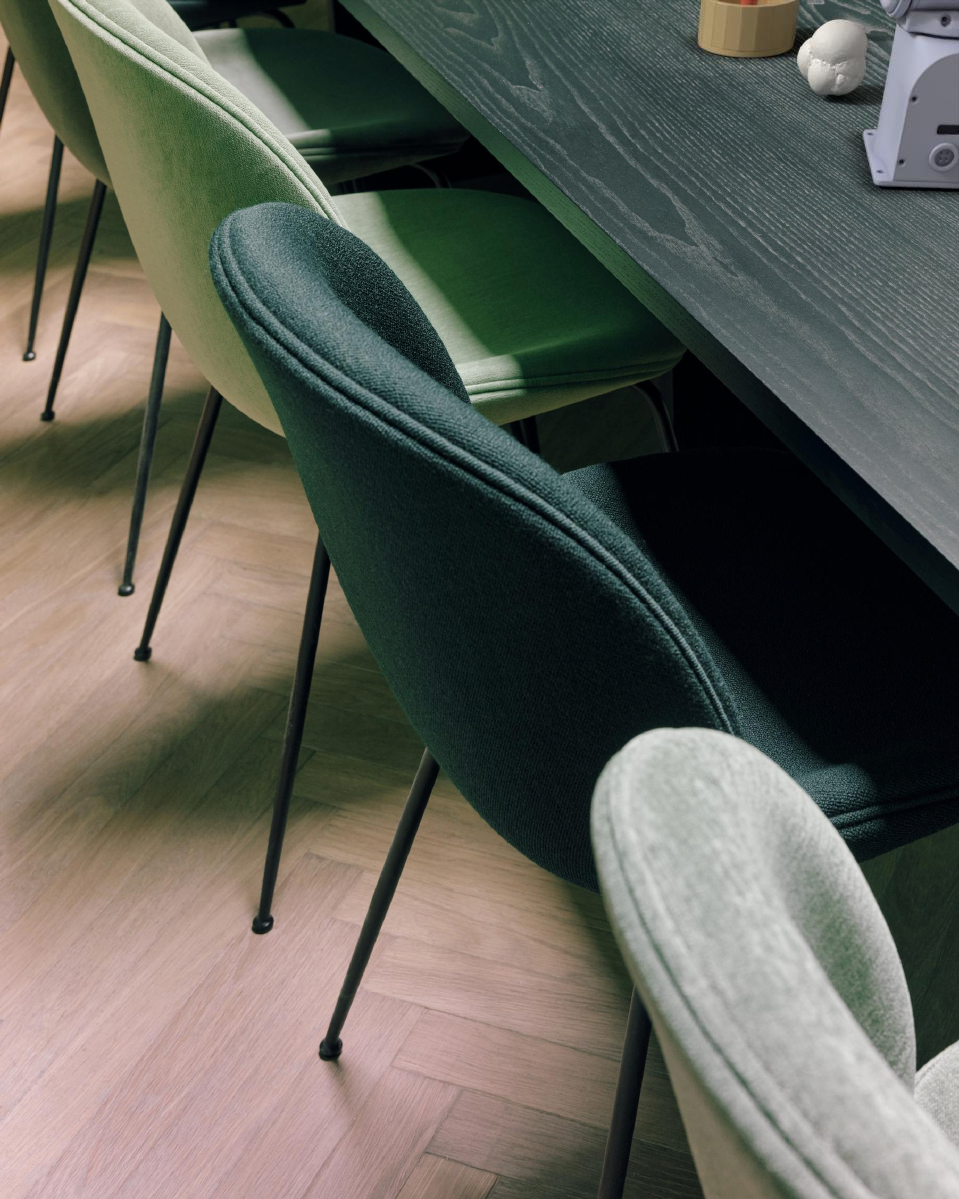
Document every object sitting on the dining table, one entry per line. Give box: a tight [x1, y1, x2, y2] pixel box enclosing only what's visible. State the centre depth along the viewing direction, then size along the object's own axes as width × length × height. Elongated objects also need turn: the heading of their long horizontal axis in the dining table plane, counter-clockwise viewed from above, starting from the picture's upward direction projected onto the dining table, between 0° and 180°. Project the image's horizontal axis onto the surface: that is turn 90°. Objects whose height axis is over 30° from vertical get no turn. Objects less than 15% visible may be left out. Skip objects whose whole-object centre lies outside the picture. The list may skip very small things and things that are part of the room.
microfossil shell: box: [796, 18, 869, 96], centre depth 92 cm, size 4×5×6 cm
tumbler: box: [697, 0, 801, 58], centre depth 103 cm, size 8×8×4 cm
